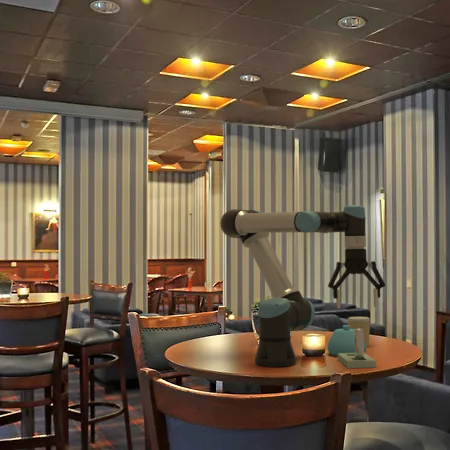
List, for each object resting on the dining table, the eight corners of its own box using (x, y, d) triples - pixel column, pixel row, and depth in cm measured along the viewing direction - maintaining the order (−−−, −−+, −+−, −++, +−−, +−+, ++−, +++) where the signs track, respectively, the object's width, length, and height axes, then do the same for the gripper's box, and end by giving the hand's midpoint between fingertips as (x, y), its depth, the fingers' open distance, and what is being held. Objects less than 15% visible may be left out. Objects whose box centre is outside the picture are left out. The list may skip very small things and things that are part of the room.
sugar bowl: (337, 350, 246) (336, 322, 247) (372, 353, 238) (371, 324, 238) (321, 356, 234) (320, 326, 235) (357, 359, 225) (356, 328, 226)
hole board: (348, 368, 209) (347, 361, 209) (337, 359, 225) (337, 353, 225) (376, 367, 210) (376, 360, 210) (364, 359, 226) (363, 352, 226)
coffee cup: (375, 346, 254) (374, 317, 254) (360, 348, 249) (359, 319, 249) (359, 343, 262) (358, 316, 262) (343, 345, 256) (343, 317, 257)
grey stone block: (356, 366, 212) (355, 329, 212) (354, 365, 215) (353, 328, 215) (365, 366, 212) (364, 329, 212) (362, 364, 215) (361, 328, 215)
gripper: (323, 248, 211) (324, 309, 210) (393, 247, 212) (394, 307, 211) (319, 248, 218) (320, 307, 218) (386, 247, 219) (388, 305, 218)
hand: (357, 307), depth 214 cm, fingers open, 13 cm apart
